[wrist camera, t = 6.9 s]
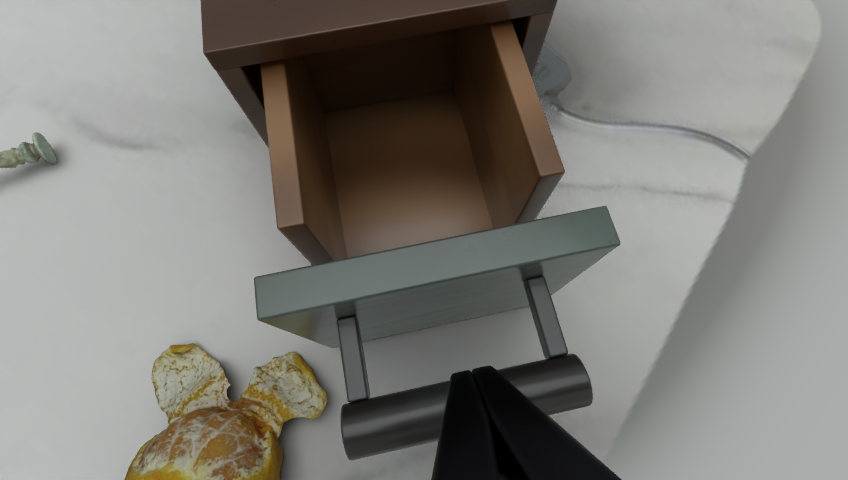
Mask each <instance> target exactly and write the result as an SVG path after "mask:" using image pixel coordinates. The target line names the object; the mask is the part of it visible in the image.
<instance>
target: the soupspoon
mask: <svg viewBox="0 0 848 480" xmlns="http://www.w3.org/2000/svg"><path fill="white" fill-rule="evenodd" d="M32 137H33V144H30V143H26V142H22V143H21V144H20V145H19V147H18V149H16V148H11V150H8V151H7V150H5V151H2V152H0V168H13V167H16V166H17V165H19V164H21V165H23V164H25V162H28V163H34V164H35V163H37V162H38V161H39V159H40V158H43V159H45V160H46V161H48V162H49V163H51V164H55V163H56V156H55V153H54V151H53V149H52V147H51V145H50V144H49V143H48V142H47V140H46V139H45V138H44V136H43V135H41V134H40V133H37V132H35V133H33V136H32Z"/></svg>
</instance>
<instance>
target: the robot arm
mask: <svg viewBox="0 0 848 480" xmlns="http://www.w3.org/2000/svg"><path fill="white" fill-rule="evenodd" d="M431 480H621V479H620V478H619V477H618V476H617V475H616V474H614V473H613V472H612V471H611V470H610V469H609V468H608V467H606V466H605V465H604V464H603V463H602V462H601V461H600V460H598V459H597V458H596V457H595V456H594V455H593V454H592V453H591V452H589V451H588V450H587V449H586V448H585V447H584V446H583V445H581V444H580V443H579V442H578V441H577V440H576V439H575V438H573V437H572V436H571V435H570V434H569V433H568V432H567V431H565V430H564V429H563V428H562V427H561V426H560V425H559V424H557V423H556V422H555V421H554V420H553V419H552V418H551V417H549V416H548V415H547V414H546V413H545V412H544V411H543V410H541V409H540V408H539V407H538V406H537V405H536V404H535V403H533V402H532V401H531V400H530V399H529V398H528V397H527V396H525V395H524V394H523V393H522V392H521V391H520V390H519V389H517V388H516V387H515V386H514V385H513V384H512V383H511V382H509V381H508V380H507V379H506V378H505V377H504V376H503V375H501V374H500V373H499V372H498V371H497V370H496V369H495V368H493V367H492V366H484V367H480V368H475V369H473V370H472V372H471V371H469V370H466V371H462V372H457V373H453V374H452V375H451V379H450V384H449V389H448V394H447V400H446V405H445V410H444V416H443V421H442V426H441V431H440V437H439V442H438V447H437V453H436V458H435V463H434V468H433V474H432V479H431Z"/></svg>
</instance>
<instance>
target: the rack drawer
mask: <svg viewBox="0 0 848 480" xmlns="http://www.w3.org/2000/svg"><path fill="white" fill-rule="evenodd" d="M260 68H261V77H262V87H263V96H264V106H265V115H266V125H267V135H268V144H269V154H270V163H271V173H272V182H273V192H274V201H275V211H276V221H277V228H278V230H279V231H280V232H281V233H282V234H283V235H284V236H285V237H286V238H287V239H288V240H289V241H290V242H291V243H292V244H293V245H294V246H295V247H296V248H297V249H298V250H299V251H300V252H301V253H302V254H303V255H304V256H305V257H306V258H307V259H308V261H309V262H310V263H311V264H312V266H307V267H302V268H297V269H292V270H287V271H282V272H277V273H272V274H267V275H263V276H258V277H255V278H254V286H255V298H256V310H257V319H258V320H259V321H262V322H264V323H267V324H269V325H272V326H275V327H277V328H280V329H283V330H285V331H288V332H291V333H293V334H296V335H299V336H301V337H304V338H307V339H309V340H312V341H314V342H317V343H320V344H322V345H325V346H328V347H330V348H335V347H340V349H341V356H342V363H343V370H344V377H345V384H346V391H347V398H348V402H350V403H347V404H344V405H343V406H342V409H341V432H342V439H343V444H344V448H345V452H346V455H347V457H348V459H349V460H356V459H360V458H365V457H369V456H373V455H378V454H382V453H386V452H391V451H395V450H399V449H404V448H408V447H412V446H417V445H421V444H425V443H430V442H434V441H438V440H439V437H440V431H441V426H442V421H443V416H444V410H445V405H446V400H447V394H448V389H449V384H450V381H446V382H441V383H437V384H432V385H428V386H423V387H419V388H414V389H410V390H405V391H401V392H397V393H392V394H388V395H383V396H379V397H374V398H370V390H369V384H368V377H367V371H366V365H365V358H364V352H363V346H362V342H363V341H368V340H373V339H377V338H382V337H387V336H391V335H396V334H401V333H405V332H410V331H414V330H419V329H424V328H428V327H433V326H438V325H442V324H447V323H452V322H456V321H461V320H466V319H470V318H475V317H480V316H484V315H489V314H494V313H498V312H503V311H507V310H512V309H517V308H521V307H526V306H530V309H531V312H532V315H533V319H534V322H535V326H536V329H537V332H538V336H539V339H540V343H541V346H542V350H543V353H544V356H545V358H546V359H545V360H540V361H536V362H531V363H527V364H522V365H518V366H513V367H509V368H504V369H500V370H497V371H498V372H499V373H500V374H501V375H503V376H504V377H505V378H506V379H507V380H508V381H509V382H511V383H512V384H513V385H514V386H515V387H516V388H517V389H519V390H520V391H521V392H522V393H523V394H524V395H525V396H527V397H528V398H529V399H530V400H531V401H532V402H533V403H535V404H536V405H537V406H538V407H539V408H540V409H541V410H543V411H544V412H545V413H546V414H547V415H551V414H556V413H560V412H564V411H569V410H573V409H577V408H582V407H586V406H589V405H591V403H592V400H593V394H592V387H591V383H590V379H589V376H588V373H587V371H586V369H585V367H584V365H583V363H582V362H581V360H580V359H579V357H578V356H577V355H575V354H568V350H567V347H566V343H565V340H564V337H563V334H562V331H561V327H560V324H559V321H558V318H557V315H556V311H555V308H554V305H553V302H552V298H551V295H552V294H554V293H555V292H556V291H558V290H559V289H560V288H562V287H563V286H565V285H566V284H567V283H569V282H570V281H571V280H573V279H574V278H575V277H577V276H578V275H579V274H581V273H582V272H583V271H585V270H586V269H588V268H589V267H590V266H592V265H593V264H594V263H596V262H597V261H598V260H600V259H601V258H602V257H604V256H605V255H607V254H608V253H609V252H611V251H612V250H613V249H615V248H616V247H617V246H619V245H620V240H619V238H618V235H617V232H616V230H615V227H614V224H613V222H612V219H611V217H610V214H609V211H608V209H607V207H606V206H601V207H596V208H591V209H587V210H582V211H577V212H572V213H567V214H562V215H557V216H552V217H547V218H542V219H537V220H535V218H536V217H537V215H538V214H539V212H540V210H541V209H542V207H543V206H544V204H545V203H546V201H547V199H548V198H549V196H550V195H551V193H552V192H553V190H554V188H555V187H556V185H557V184H558V182H559V181H560V179H561V177H562V176H563V174H564V173H565V170H564V167H563V164H562V162H561V159H560V156H559V153H558V150H557V148H556V145H555V142H554V139H553V136H552V133H551V131H550V128H549V125H548V122H547V119H546V117H545V114H544V111H543V108H542V105H541V103H540V100H539V97H538V94H537V91H536V89H535V86H534V83H533V80H532V77H531V75H530V72H529V69H528V66H527V63H526V61H525V58H524V55H523V52H522V49H521V47H520V44H519V41H518V38H517V35H516V33H515V30H514V27H513V24H512V21H511V19H509V20H503V21H497V22H492V23H486V24H480V25H475V26H469V27H463V28H458V29H452V30H446V31H440V32H435V33H429V34H423V35H418V36H412V37H406V38H401V39H395V40H389V41H384V42H378V43H372V44H367V45H361V46H355V47H350V48H344V49H338V50H333V51H327V52H321V53H316V54H310V55H304V56H299V57H293V58H287V59H282V60H276V61H270V62H264V63H260ZM369 398H370V399H369Z"/></svg>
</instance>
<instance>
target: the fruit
mask: <svg viewBox="0 0 848 480" xmlns="http://www.w3.org/2000/svg"><path fill="white" fill-rule="evenodd" d="M219 364H220V362H219V361H217V360H214V359H213V358H212V357H211V356H210V355H209V354H208V353H206V352H204V351H202V350H201V349H200V347H199V346H197V345H196V344H189V345H171V346H170V348H169V349H168V350H166V351H164V352H163V353H162V354H161V356H160V357H159V358H157V360H156V361H155V362H154V366H153V370H152V382H153V385H154V388H155V394H156V397H157V399H158V404H159V406H160V407H161V409H162V411H164V412H166V414H167V416H168V423H169V426H168V427H167V429H166V430H164V431H162V432H161V433H160V434H158V435H156V436H154V437H153V438H152V439H151V440H149V441H148V442H146V443H145V444H144V445H143V446H142V447H141V448H140V450H139V451H138V453H137V455H136V457H135V458H134V460H133V461H132V463H131V465H130V467H129V469H128V472H127V475H126V477H125V480H280V469H281V466H282V463H283V457H284V455H283V450H282V449H281V448H280V445H279V444H278V439H279V436H280V434H281V429H282V426H283V423H284V422H286V421H287V420H289V419H292V418H297V417H306V418H307V419H316V418H317V417H318V416H319V415H320V414H321V413H322V412H323V410H324V409H325V407H326V404H327V396H326V391H324V390H323V389H322V388H321V387H320V386H319V383H318V381H317V380H316V378H315V375H314V373H313V370H312V368H311V367H310V366H308V364H307V363H306V362H304V360H303V359H302V357H301V356H300V355H298V354H297V353H296V352H289V353H287V354H285V355H283V356H281V357H276V358H273V359H272V361H271V362H270V363H269V364H267V365H266V366H262V367H258V366H257V367H256V368H254V371H253V375H252V378H251V380H250V383H249V387H248V389H247V390H246V391H245V392H244V393H243V394H242V395H241V398H240V399H239V400H237V401H236V402H232V401H230V400H229V399H228V397H227V388H228V386H230V385H231V384H229V383H228V380H227V378H226V377H225V373H224V370H223V369H222V368H221V367H220V365H219Z"/></svg>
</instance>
